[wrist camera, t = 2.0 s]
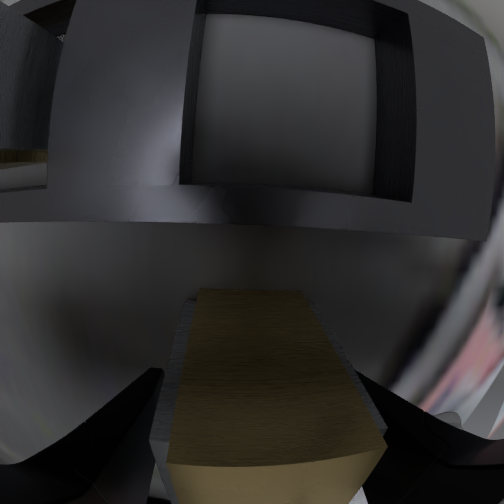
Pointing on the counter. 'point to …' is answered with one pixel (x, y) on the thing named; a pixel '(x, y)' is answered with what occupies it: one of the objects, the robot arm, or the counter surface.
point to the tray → (249, 194)
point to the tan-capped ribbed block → (25, 88)
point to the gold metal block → (262, 406)
